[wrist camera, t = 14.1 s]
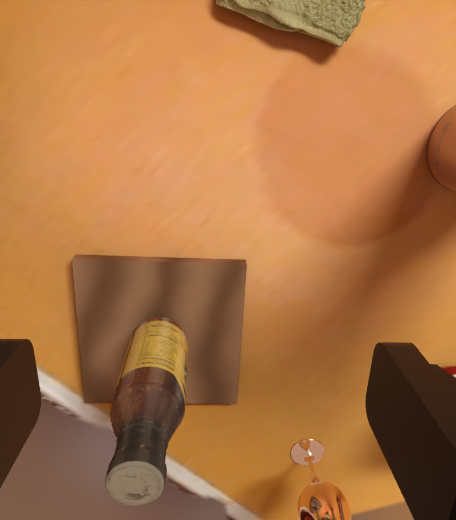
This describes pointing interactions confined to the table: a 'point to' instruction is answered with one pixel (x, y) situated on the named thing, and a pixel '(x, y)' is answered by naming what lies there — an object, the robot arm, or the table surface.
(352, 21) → the washcloth
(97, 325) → the walnut board
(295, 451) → the wineglass
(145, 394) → the sauce bottle
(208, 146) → the table surface
